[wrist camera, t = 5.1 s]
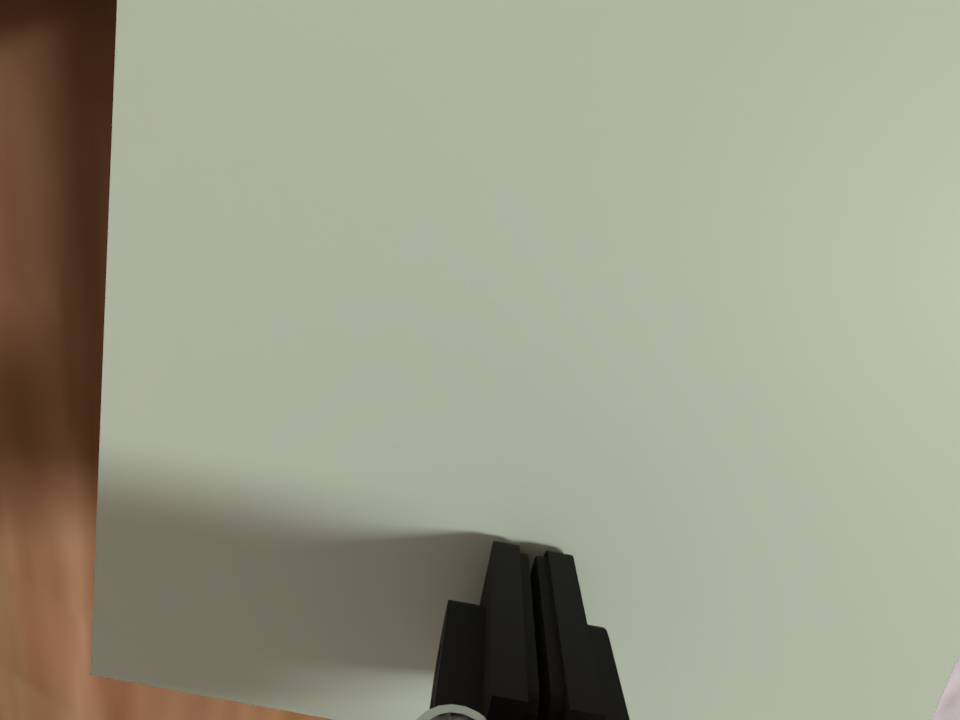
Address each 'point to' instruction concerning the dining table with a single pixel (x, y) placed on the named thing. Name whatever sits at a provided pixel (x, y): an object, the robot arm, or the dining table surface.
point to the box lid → (534, 345)
